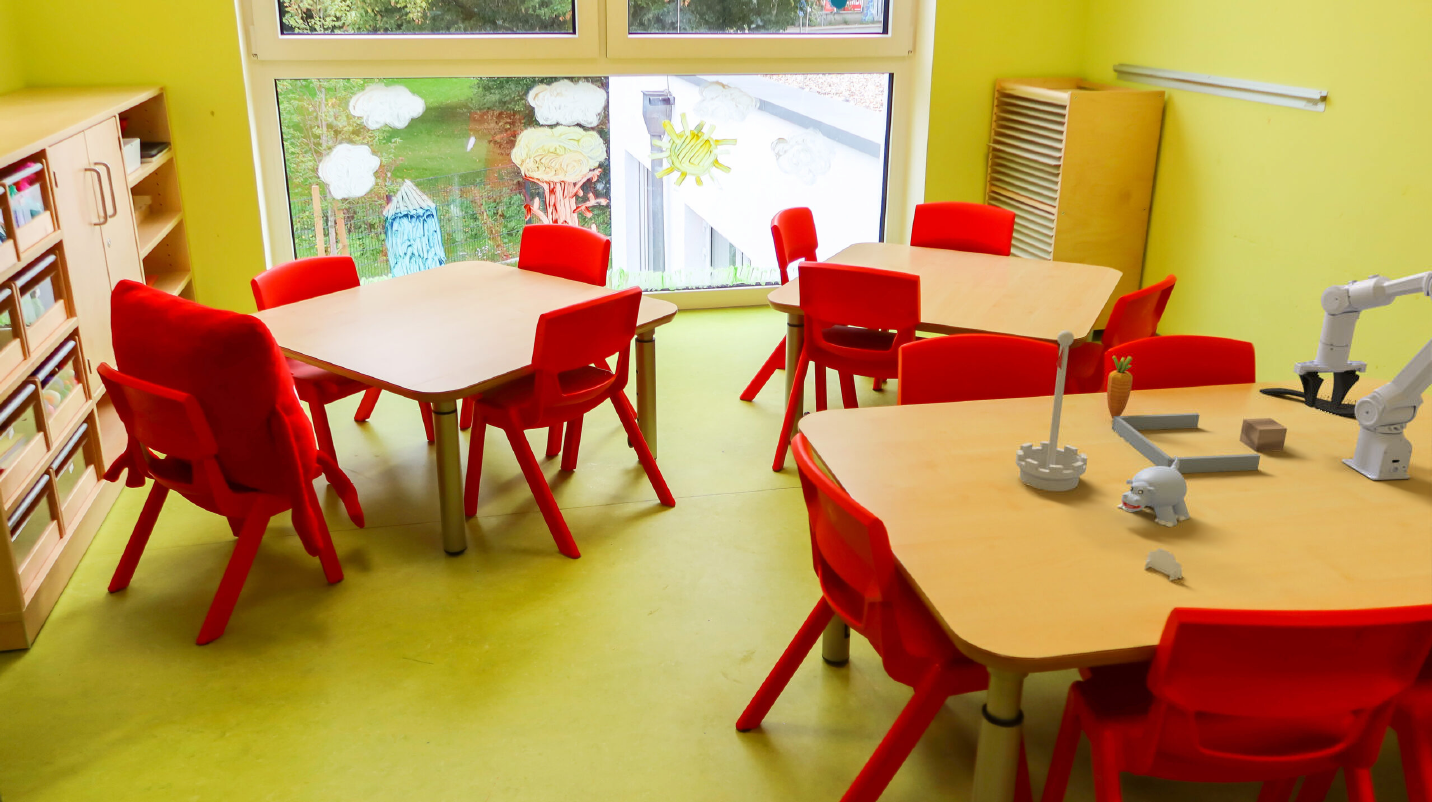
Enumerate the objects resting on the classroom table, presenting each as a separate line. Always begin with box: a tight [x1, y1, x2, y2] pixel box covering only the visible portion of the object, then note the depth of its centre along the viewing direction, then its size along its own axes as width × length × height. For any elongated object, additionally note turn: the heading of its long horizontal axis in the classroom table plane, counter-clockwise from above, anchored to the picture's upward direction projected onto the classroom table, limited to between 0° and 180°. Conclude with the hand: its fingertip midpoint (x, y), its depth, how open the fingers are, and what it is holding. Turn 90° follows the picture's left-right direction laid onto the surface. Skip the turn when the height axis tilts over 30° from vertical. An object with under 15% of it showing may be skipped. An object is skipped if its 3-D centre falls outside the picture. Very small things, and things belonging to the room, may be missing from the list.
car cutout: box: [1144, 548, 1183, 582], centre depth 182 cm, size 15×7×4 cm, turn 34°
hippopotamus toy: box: [1117, 455, 1190, 528], centre depth 198 cm, size 11×15×10 cm
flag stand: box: [1015, 329, 1088, 492], centre depth 208 cm, size 13×13×30 cm
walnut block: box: [1239, 417, 1288, 452], centre depth 229 cm, size 6×6×5 cm
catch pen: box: [1111, 412, 1261, 474], centre depth 228 cm, size 24×19×3 cm
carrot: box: [1106, 355, 1134, 420], centre depth 241 cm, size 5×5×15 cm
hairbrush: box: [1259, 387, 1358, 418], centre depth 253 cm, size 8×4×25 cm
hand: (1322, 405), depth 229 cm, fingers open, 5 cm apart
